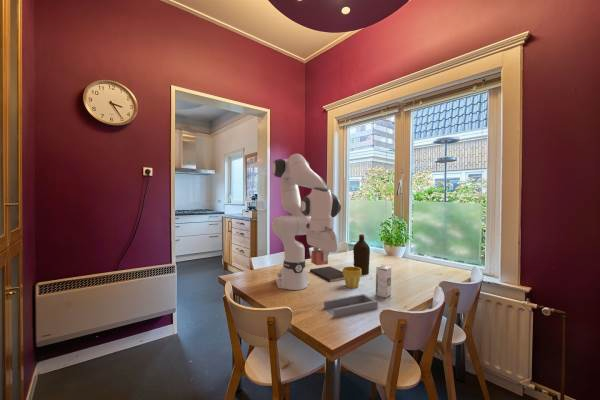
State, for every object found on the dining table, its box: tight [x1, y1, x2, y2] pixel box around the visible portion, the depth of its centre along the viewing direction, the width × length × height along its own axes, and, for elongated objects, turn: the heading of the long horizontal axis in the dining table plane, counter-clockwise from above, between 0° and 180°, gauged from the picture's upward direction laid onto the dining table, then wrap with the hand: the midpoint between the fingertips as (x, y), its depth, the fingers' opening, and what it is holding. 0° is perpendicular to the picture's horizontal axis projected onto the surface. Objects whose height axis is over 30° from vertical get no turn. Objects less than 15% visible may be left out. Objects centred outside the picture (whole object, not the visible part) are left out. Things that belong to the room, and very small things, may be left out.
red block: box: [310, 249, 329, 266], centre depth 104 cm, size 5×5×5 cm
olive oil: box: [352, 233, 371, 276], centre depth 164 cm, size 11×11×25 cm
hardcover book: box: [309, 266, 345, 283], centre depth 159 cm, size 16×23×2 cm
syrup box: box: [375, 264, 392, 299], centre depth 126 cm, size 6×6×14 cm
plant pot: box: [342, 265, 362, 289], centre depth 139 cm, size 10×10×10 cm
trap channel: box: [323, 293, 379, 319], centre depth 108 cm, size 9×21×4 cm, turn 114°
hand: (320, 259), depth 105 cm, fingers closed on red block, 5 cm apart
